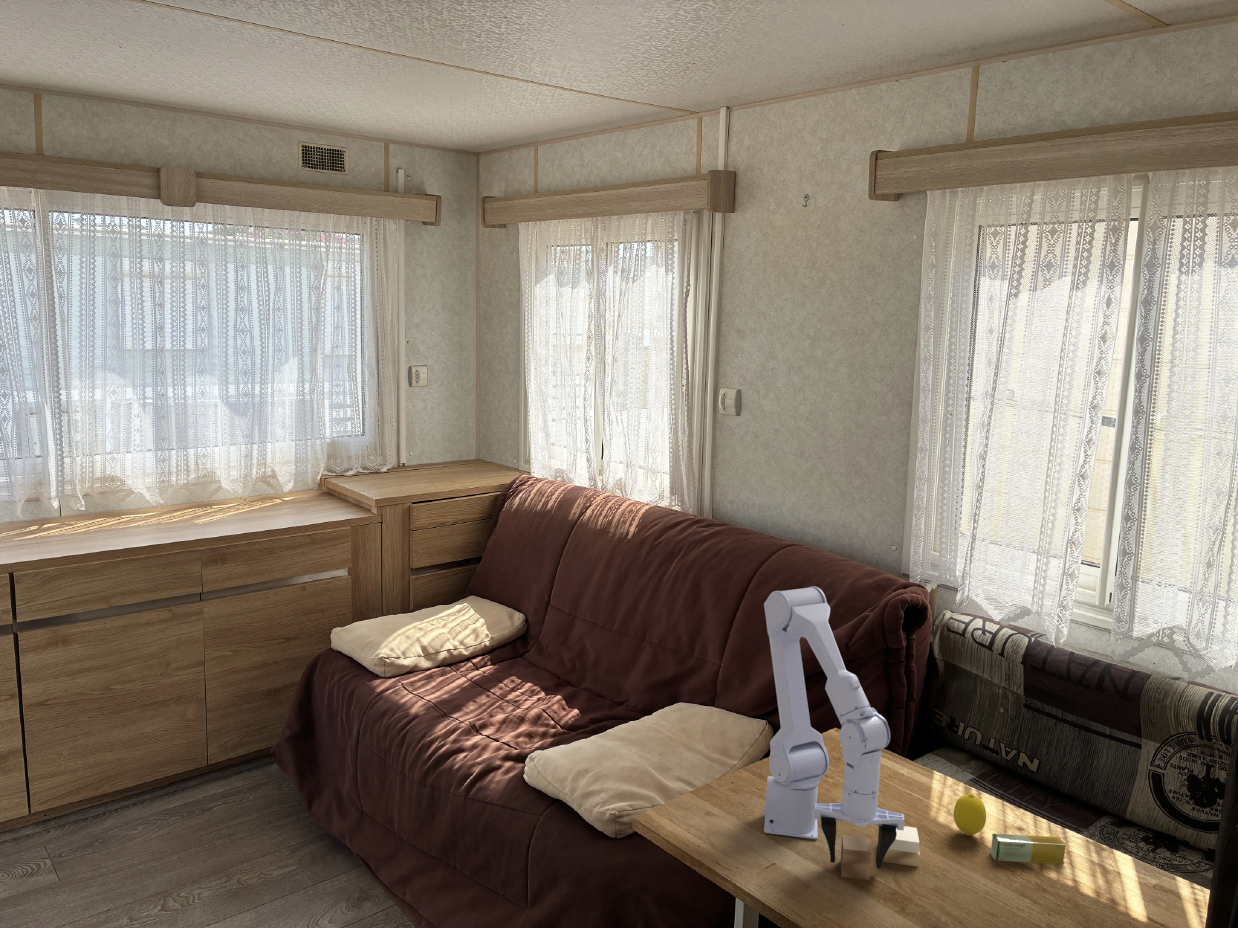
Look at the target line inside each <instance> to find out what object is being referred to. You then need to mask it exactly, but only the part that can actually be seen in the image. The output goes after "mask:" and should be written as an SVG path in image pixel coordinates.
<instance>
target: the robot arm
mask: <svg viewBox="0 0 1238 928" xmlns="http://www.w3.org/2000/svg"><path fill="white" fill-rule="evenodd" d="M763 607H764V615H765V620H766V621H765V622H766V631H767V635H768V638H769V639H768V640H769V645H770V646H769V647H770V654H771V661H772V669H773V677H774V685H775V693H776V700H777V708H778V715H779V723H780V729H779V730H778V731H777V732H776V734H775V735H774V736H773V737H772V738H771V739H770V741H769V748H770V754H769V759H768V764H769V765H768V768H769V771H770V773H771V776H769V775H768V776H767V780H766V794H765V805H763V812H762V813H763V814H762V816H763V817H764V828H763V832H764V833H765V834H770V835H779V836H785V837H795V838H802V839H809V840H818V837H819V834H818V830H819V829H818V827H819V826H818V820H819V821H820V823H821V825H820V826H821V830H822V833H823V835H824V837H825V840H826V843H827V846H828V849H829V857H830V858H829V859H830V863H835V864H836V841H837V839H836V838H837V821H842V822H848V823H852V824H853V826H854V827H858V828H859V827H860V828H866V827H867V826H868V825H870V826H871V825H872V826H878V831H877V832H878V834H877V835H878V837H877V847H876V852H875V853H876V854H875V867H876V869H877V870H881V869H882V864H883V863H884V862H883V860H884V857H885V855H886V853H887V851H888V849H889V847H890V846H891V845H892V843H893V842H894V841H895V839H896V836H897V833H896V828H897V829H898V830H904V826H905V815H904V814H903V813H898V812H893V811H890V810H886V809H883V808H879V807H878V801H879V800H878V799H879V790H880V789H879V786H880V775H881V774H880V773H881V761H882V749H885V748H886V747H888V746H889V744H890V741H891V729H890V727H889V724H888V721H887V719H886V718H885V717H883V715H882V714H879V713H878V711H877V710H876V709H875V707H871V704H870V702H869V700H868V698H867V696H866V694H865V692H864V690H863V689H864V688H863V687H862V686H861V683H860V680H859V677H858V676H857V675H856V674H854V673H852V672H850V671H848V670H847V669H846V666H845V663H844V661H843V658H842V655H841V652H840V650H839V647H838V644H837V642H836V639H835V636H834V633H833V631H832V629H831V626H830V624H829V619H830V614H831V607H830V605H829V604H828V601H827V598H826V595H825V593H824V592H823V590H822V589H821V588H819V587H818V586H809V587H804V588H795V589H787V590H774V591H772V592H771V593H770V594H769V596H768V597H767V598H766V600H765V602H764V603H763ZM802 638H804V639H806V641H807V643H808V644H809V646H810V648H811V650H812V651H813V654H814V655H815V657H816V659H817V660H818V663H819V665H820V666H821V668H822V670H823V672H824V674H825V676H826V677H827V680H826V683H825V687H824V690H825V691H826V694H827V696H828V698H829V701H830V703H831V705H832V707H833V709H834V711H835V715H836V716H837V718H838V721H839V722H840V725H841V728H840V729H839V730H838V738H839V743H840V744H841V747H842V748H841V749H842V753H841V755H842V757H843V760H844V767H843V768H844V769H843V783H842V797H841V802H837V803H835V802H834V803H832V802H830V803H819V802H818V792H819V791H818V789H819V783H822V779H823V778H822V777H823V776H825V775H826V774H827V773H828V771H829V768H830V757H829V753H828V750H827V749H826V746H825V743H824V739H823V735H822V734H821V732H819V731H817V730H816V729H815V728H813V727H812V725H811V720H810V719H811V718H810V712H809V704H808V697H807V690H806V683H805V681H806V680H805V675H804V668H803V667H804V666H803V661H802V659H803V658H802V653H801V644H800V639H802Z"/></svg>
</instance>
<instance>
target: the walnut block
mask: <svg viewBox="0 0 1238 928" xmlns="http://www.w3.org/2000/svg"><path fill="white" fill-rule="evenodd" d="M840 848H841V850H840V861H841V862H840V872H841V873H840V875H841V877H843V876H844V877H843V878H851V879H852V878H853V879H859V880H866V881H870V879H871V878H870V875H871V864H872V862H871V861H872V848H871V840H870V838H869V837H863V836H855V835H848V834H842V835H841V847H840Z"/></svg>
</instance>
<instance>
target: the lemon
mask: <svg viewBox="0 0 1238 928" xmlns="http://www.w3.org/2000/svg"><path fill="white" fill-rule="evenodd" d="M985 806H986V805H985V804H984V802H983V801H982V800H981V799H980V798H979V797H978V796H976V795H975V794H974V793H968V794H967V793H966V794H964V795H961V796H960V797H959V798H958V799H957V800H956V802H955V804H954V808H953V821H954V823H955V826H956V827H957V828H958V829H959V831H961V832H963V834H965V835H966V836H968V837H969V836H972V835H976V834H978V833H980V832H981V831H982V830H983V829H984V828H985V824H986V822H987V810H986V807H985Z"/></svg>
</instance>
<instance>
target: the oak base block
mask: <svg viewBox="0 0 1238 928" xmlns="http://www.w3.org/2000/svg"><path fill="white" fill-rule="evenodd" d="M920 862H921V853H920V851H919V854H918V853H911V852H904V851H897V850H890V849H888V851H887V853H886V855H885V857H884V860H883V862H882V863H890V864H897V865H905V866H912V867H919V868H920Z"/></svg>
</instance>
